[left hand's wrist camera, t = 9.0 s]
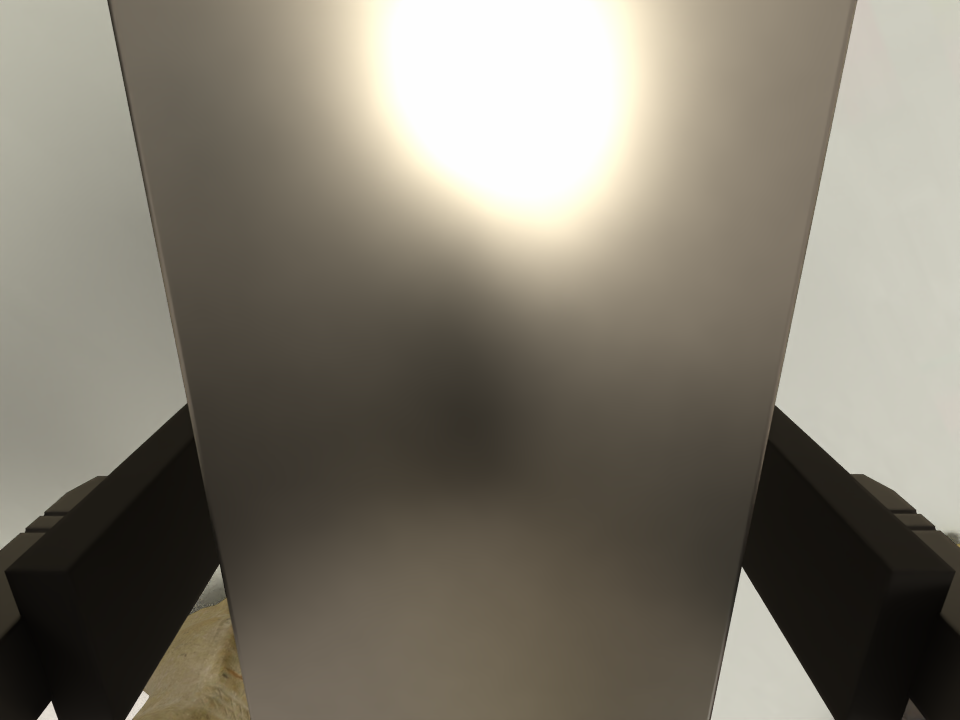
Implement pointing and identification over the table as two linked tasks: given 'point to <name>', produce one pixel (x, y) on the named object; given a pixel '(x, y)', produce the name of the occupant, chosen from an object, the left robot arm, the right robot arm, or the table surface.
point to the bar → (481, 331)
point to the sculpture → (199, 673)
